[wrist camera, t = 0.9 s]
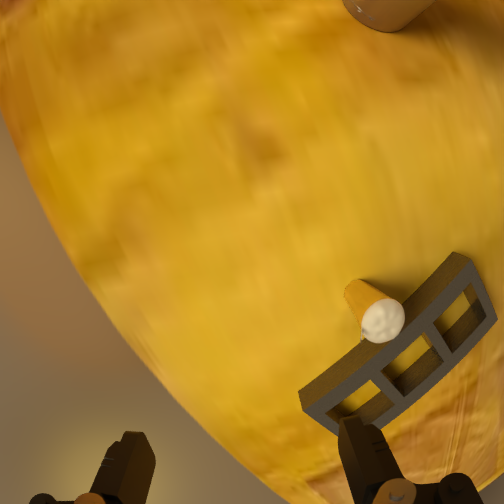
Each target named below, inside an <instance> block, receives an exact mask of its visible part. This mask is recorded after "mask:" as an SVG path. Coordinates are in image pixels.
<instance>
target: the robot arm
mask: <svg viewBox="0 0 504 504" xmlns="http://www.w3.org/2000/svg"><path fill="white" fill-rule="evenodd" d="M342 1H343V3H344V5H345V7H346V8H347V10H348V11H349V12H350V13H351V14H352V15H353V16H354V17H355V18H356V19H357V20H359V21H360V22H361V23H363V24H365V25H366V26H368V27H370V28H373V29H375V30H379V31H382V32H395V31H398V30H401V29H402V28H403V27H405V26H406V25H407V24H408V23H409V22H411V21H412V20H413V19H414V18H415V17H417V16H418V15H419V14H420V13H422V12H423V11H424V10H425V9H426V8H428V7H429V6H430V5H431V4H432V3H434V2H435V1H436V0H342ZM338 450H339V455H340V458H341V461H342V464H343V467H344V471H345V474H346V477H347V480H348V484H349V487H350V490H351V493H352V497H353V500H354V503H355V504H484V503H483V502H482V500H481V498H480V496H479V494H478V492H477V490H476V488H475V486H474V484H473V482H472V480H471V479H470V478H469V477H468V476H467V475H465V474H463V473H452V474H449V475H447V476H445V477H444V478H443V479H442V480H441V481H440V483H431V484H415V483H412V482H411V481H409V480H407V479H405V478H404V476H403V475H402V473H401V471H400V469H399V467H398V464H397V462H396V460H395V458H394V456H393V454H392V452H391V450H390V449H389V446H388V444H387V442H386V439H385V437H384V435H383V433H382V431H381V430H380V429H379V428H377V427H376V426H375V425H373V424H369V425H365V426H364V425H363V423H362V420H361V418H360V416H359V415H354V416H350V417H345V418H341V419H340V422H339V435H338ZM155 464H156V460H155V455H154V453H153V450H152V448H151V446H150V444H149V442H148V440H147V438H146V436H145V434H144V433H143V432H132V431H126V432H125V433H124V434H123V437H122V439H121V441H120V442H118V441H115V442H114V443H113V444H112V445H111V446H110V447H109V448H108V450H107V452H106V454H105V457H104V459H103V461H102V463H101V466H100V468H99V470H98V473H97V475H96V477H95V480H94V482H93V484H92V487H91V489H90V491H89V493H84V494H82V495H80V496H78V497H77V498H76V500H75V501H56V500H55V499H54V498H53V497H52V496H51V495H49V494H44V493H41V494H37V495H35V496H34V497H33V498H32V499H31V500H30V503H29V504H145V503H146V499H147V496H148V492H149V488H150V484H151V480H152V477H153V473H154V469H155Z"/></svg>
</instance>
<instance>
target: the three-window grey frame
mask: <svg viewBox="0 0 504 504" xmlns="http://www.w3.org/2000/svg"><path fill="white" fill-rule="evenodd" d="M462 291H463V292H464V294H465V296H466V298H467V300H468V302H469V304H470V307H469V308H468V310H467V311H466V312H465V313H464V314H463V315H462V316H461V317H460V318H459V319H458V320H457V322H456V323H455V324H454V325H453V326H452V327H451V328H450V329H449V330H448V331H447V332H446V333H445V334H444V335H443V336H441V335H440V333H439V332H438V330H437V329H436V327H435V325H434V324H433V322H434V321H435V320H436V319H437V318H438V317H439V316H440V315H441V314H442V313H443V312H444V311H445V310H446V309H447V308H448V307H449V306H450V305H451V304H452V302H453V301H454V300H455V299H456V298H457V297H458V296H459V295H460V294H461V293H462ZM402 307H403V309H404V313H405V321H404V325H403V327H402V329H401V331H400V333H399V334H398V335H397V336H396V337H395V338H394V339H392V340H390V341H387V342H383V343H374V342H371V341H369V340H367V339H366V338H365V339H364V340H362V342H360V343H359V344H358V345H357V346H355V347H354V348H353V349H352V350H351V351H349V352H348V353H347V354H346V355H345V356H343V357H342V358H341V359H340V360H338V361H337V362H336V363H335V364H334V365H332V366H331V367H330V368H328V369H327V370H326V371H325V372H323V373H322V374H321V375H319V376H318V377H317V378H316V379H314V380H313V381H312V382H310V383H309V384H308V385H306V386H305V387H304V388H302V389H301V390H299V391H298V393H299V398H300V402H301V406H302V410H303V411H304V412H305V413H306V414H308V415H309V416H310V417H312V418H313V419H314V420H316V421H317V422H318V423H320V424H321V425H322V426H324V427H325V428H327V429H328V430H329V431H331V432H332V433H334V434H335V435H336V436H338V435H339V422H340V419H341V418H345V416H344V415H343V414H342V413H340V412H339V411H338V410H337V409H335V408H334V406H336V405H337V404H339V403H340V402H341V401H343V400H344V399H345V398H347V397H348V396H349V395H351V394H352V393H353V392H355V391H356V390H357V389H358V388H360V387H361V386H362V385H364V384H365V383H366V382H367V381H369V380H371V381H372V382H373V383H374V384H375V385H376V386H377V387H378V388H379V389H380V390H381V392H379V393H378V394H377V395H375V396H374V397H373V398H372V399H370V400H369V401H368V402H366V403H365V404H364V405H362V406H361V407H360V408H358V409H357V410H356V411H354V412H353V413H352V414H350V415H349V416H347V417H350V416H354V415H359V416H360V418H361V420H362V423H363V425H364V426H365V425H369V424H373V425H375V426H376V427H377V428H379V429H382V428H383V427H384V426H386V425H387V424H388V423H390V422H391V421H392V420H394V419H395V418H396V417H397V416H399V415H400V414H401V413H403V412H404V411H405V410H406V409H408V408H409V407H410V406H411V405H412V404H414V403H415V402H416V401H417V400H418V399H420V398H421V397H422V396H423V395H424V394H425V393H427V392H428V391H429V390H430V389H431V388H432V387H433V386H434V385H436V384H437V383H438V382H439V381H440V380H441V379H442V378H443V377H444V376H445V375H446V374H447V373H448V372H450V371H451V370H452V369H453V368H454V367H455V366H456V365H457V364H458V363H459V362H460V361H461V360H462V359H463V358H464V357H465V356H466V355H467V354H468V352H469V351H470V350H471V349H472V348H473V347H474V346H475V345H476V344H477V343H478V342H479V341H480V340H481V338H482V337H483V336H484V335H485V334H486V333H487V332H488V331H489V329H490V328H491V327H492V326H493V325H494V324H495V322H496V321H497V320H498V318H497V316H496V313H495V311H494V308H493V306H492V303H491V301H490V299H489V296H488V294H487V292H486V290H485V287H484V285H483V283H482V281H481V279H480V276H479V274H478V272H477V270H476V268H475V266H474V264H473V262H472V260H471V259H470V258H467V257H465V256H462V255H460V254H458V253H455V252H452V253H451V254H450V255H449V256H448V258H447V259H446V260H445V261H444V262H443V263H442V264H441V265H440V266H439V267H438V268H437V269H436V271H435V272H434V273H433V274H432V275H431V276H430V277H429V278H428V279H427V280H426V281H425V282H424V283H423V284H422V285H421V286H420V287H419V288H418V289H417V290H416V291H415V292H414V293H413V294H412V295H411V296H410V297H409V298H408V299H407V300H406V301H405V302H404V303H403V304H402ZM420 335H422V337H423V338H424V340H425V341H426V342H427V344H428V345H429V347H430V349H429V350H428V351H427V352H425V353H424V354H423V355H422V356H421V357H420V358H419V359H418V360H417V361H416V362H415V363H414V364H412V365H411V366H410V367H409V368H408V369H407V370H406V371H404V372H403V373H402V374H401V375H400V376H399V377H398V378H396V379H395V380H394V381H393V380H392V379H391V378H390V377H389V376H388V375H387V374H386V373H385V372H384V371H383V370H382V369H383V368H384V367H385V366H387V365H388V364H389V363H390V362H391V361H392V360H394V359H395V358H396V357H397V356H398V355H399V354H400V353H401V352H403V351H404V350H405V349H406V348H407V347H408V346H409V345H410V344H411V343H412V342H414V341H415V340H416V339H417V338H418V337H419V336H420Z"/></svg>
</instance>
